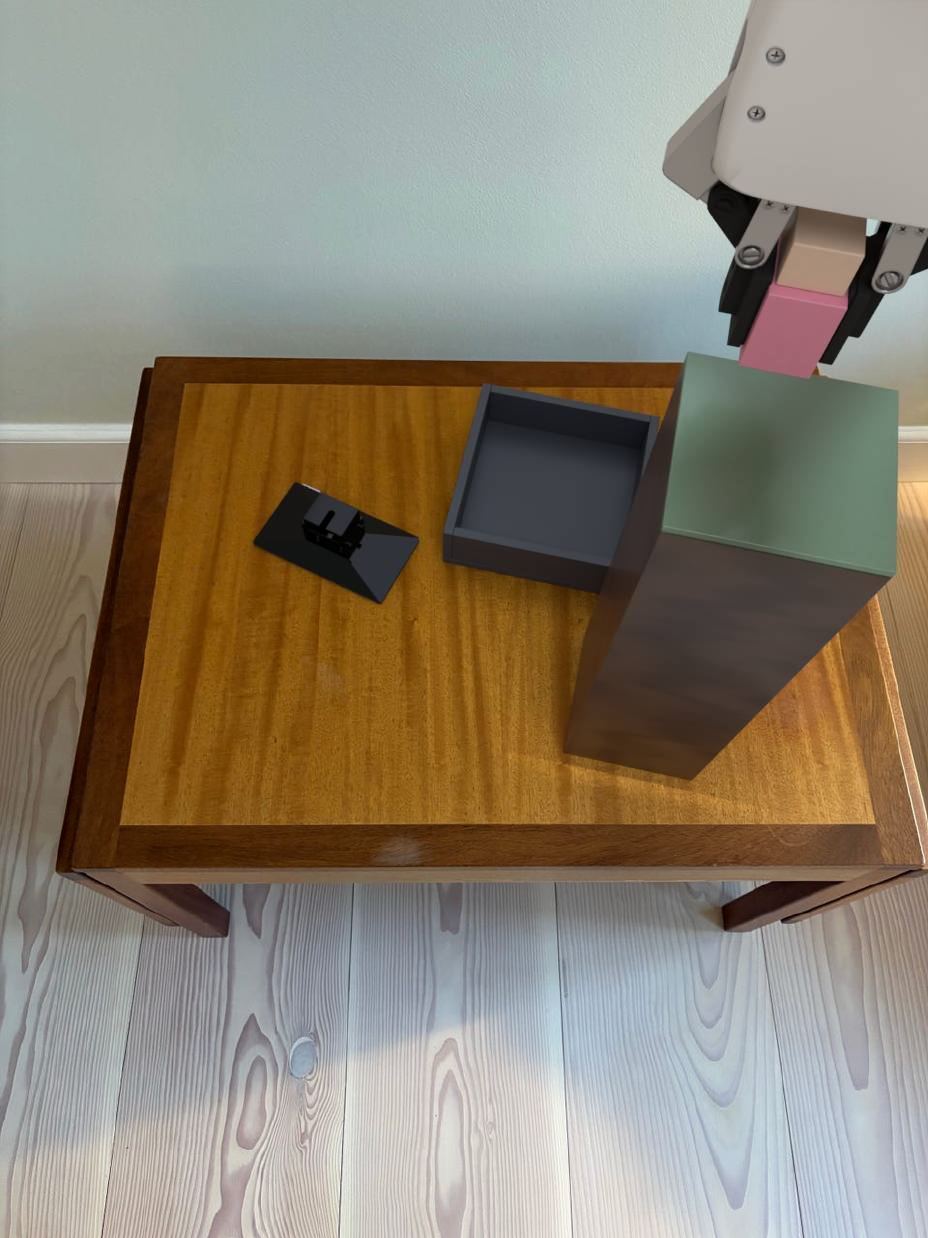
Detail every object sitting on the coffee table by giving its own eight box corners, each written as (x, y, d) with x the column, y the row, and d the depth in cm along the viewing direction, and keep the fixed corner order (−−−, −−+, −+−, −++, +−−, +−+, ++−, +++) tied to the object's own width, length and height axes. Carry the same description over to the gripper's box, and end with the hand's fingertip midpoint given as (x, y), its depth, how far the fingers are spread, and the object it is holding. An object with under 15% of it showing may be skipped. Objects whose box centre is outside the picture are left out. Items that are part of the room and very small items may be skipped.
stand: (705, 662, 72) (899, 389, 42) (691, 781, 68) (897, 573, 38) (583, 637, 73) (687, 350, 43) (563, 753, 69) (662, 526, 38)
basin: (648, 449, 81) (660, 416, 77) (624, 599, 75) (636, 572, 70) (480, 417, 82) (482, 382, 78) (442, 561, 76) (442, 532, 71)
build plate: (252, 545, 76) (241, 516, 72) (297, 481, 79) (289, 450, 75) (380, 605, 74) (376, 578, 69) (422, 537, 77) (420, 507, 72)
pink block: (815, 309, 39) (874, 191, 34) (809, 379, 37) (870, 267, 32) (746, 296, 39) (795, 177, 34) (737, 365, 38) (786, 251, 32)
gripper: (1373, -253, 22) (976, 302, 39) (717, -336, 24) (605, 234, 40) (1443, -88, 19) (978, 439, 36) (680, -195, 20) (575, 360, 37)
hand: (782, 327), depth 38 cm, fingers closed on pink block, 3 cm apart
